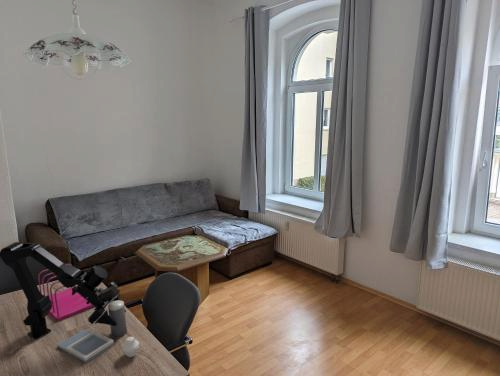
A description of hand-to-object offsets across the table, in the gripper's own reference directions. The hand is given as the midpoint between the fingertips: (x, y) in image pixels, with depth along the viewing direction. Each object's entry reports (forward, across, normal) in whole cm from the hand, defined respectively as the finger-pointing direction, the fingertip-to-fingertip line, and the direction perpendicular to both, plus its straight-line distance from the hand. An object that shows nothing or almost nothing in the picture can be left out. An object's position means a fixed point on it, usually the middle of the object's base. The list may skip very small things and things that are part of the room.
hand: (120, 318), depth 143 cm
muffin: (+11, -13, -1) cm, 17 cm away
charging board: (-3, -8, +13) cm, 15 cm away
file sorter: (-20, +23, +30) cm, 43 cm away
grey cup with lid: (+4, 0, +6) cm, 7 cm away
